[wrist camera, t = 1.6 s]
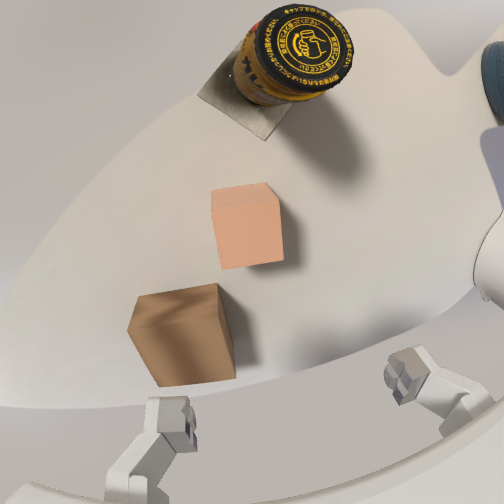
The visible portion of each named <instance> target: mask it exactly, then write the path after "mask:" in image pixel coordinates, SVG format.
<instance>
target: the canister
mask: <svg viewBox="0 0 504 504" xmlns="http://www.w3.org/2000/svg"><path fill="white" fill-rule="evenodd" d="M482 77H483V83H484V87H485V91H486V94H487V97H488V100H489V102H490V105H491V107H492V109H493V111H494V112H495V114H496V115H497V117H498V118H499V119H500V120H501V121H502V122H504V41H501V42H494V43H492V44H489V45H487V46H486V48H485V49H484V52H483V55H482Z"/></svg>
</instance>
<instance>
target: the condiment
mask: <svg viewBox="0 0 504 504" xmlns="http://www.w3.org/2000/svg"><path fill="white" fill-rule="evenodd" d="M353 54H354V47H353V43H352V40H351V38H350V36H349V34H348V32H347V30H346V29H345V27H344V26H343V25H342V24H341V23H340V22H339V21H338V20H337V19H336V18H335V17H334V16H332V15H331V14H330V13H328V12H327V11H325V10H323V9H320V8H318V7H315V6H311V5H304V4H302V5H301V4H291V5H286V6H283V7H279V8H277V9H275V10H273V11H272V12H270V13H269V14H268V15H266V16H265V17H264V18H263V19H262V20H261V21H259V22H258V23H257V24H255V26H253V28H252V29H251V30H250V31H249V32H248V33H247V34H246V36H245V38H244V39H243V40H242V41H241V42H240V43H239V44H238V45H237V47H236V48H235V49H234V50H233V51H232V52H231V53H230V55H229V56H228V57H227V58H226V59H225V60H224V61H223V63H222V64H221V65H220V67H219V68H218V69H217V70H216V71H215V72H214V74H213V75H212V76H211V77H210V79H209V80H208V81H207V82H206V84H205V85H204V86H203V87H202V89H201V90H200V91H199V93H198V94H197V95H198V96H199V97H201V98H202V99H204V100H205V101H207V102H209V103H210V104H212V105H213V106H215V107H216V108H218V109H219V110H221V111H222V112H224V113H225V114H227V115H228V116H230V117H231V118H233V119H234V120H236V121H237V122H239V123H240V124H242V125H243V126H244V127H246V128H247V129H249V130H250V131H251V132H253V133H254V134H256V135H257V136H258V137H260V138H261V139H263V140H264V141H265V139H266V138H267V137H268V135H269V134H270V133H271V132H272V130H273V129H274V128H275V126H276V125H277V124H278V123H279V121H280V120H281V119H282V118H283V116H284V115H285V114H286V113H287V111H288V110H289V109H290V108H291V106H292V105H293V104H294V103H297V102H302V101H308V100H309V99H311V98H315V97H317V96H319V95H321V94H323V93H324V92H326V91H327V90H328V89H330V88H333V87H334V86H335V85H337V84H340V82H341V81H342V80H343V78H344V77H345V76H346V75H347V73H348V72H349V70H350V68H351V67H352V59H353ZM229 75H231V77H229ZM261 107H264V109H261ZM257 108H260V110H256V109H257Z"/></svg>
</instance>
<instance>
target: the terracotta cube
mask: <svg viewBox="0 0 504 504" xmlns="http://www.w3.org/2000/svg"><path fill="white" fill-rule="evenodd" d="M211 214H212V219H213V225H214V231H215V236H216V242H217V247H218V252H219V258H220V263H221V268H222V270H225V269H232V268H238V267H244V266H251V265H257V264H263V263H269V262H275V261H282V260H284V256H283V242H282V229H281V216H280V204H279V199H278V198H277V197H276V195H275V194H274V193H273V191H272V190H271V189H270V187H269V186H268V185H267V184H266V182H265V183H258V184H251V185H243V186H237V187H230V188H223V189H217V190H212V196H211Z"/></svg>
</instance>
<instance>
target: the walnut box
mask: <svg viewBox="0 0 504 504" xmlns="http://www.w3.org/2000/svg"><path fill="white" fill-rule="evenodd" d="M127 332H128V334H129V335H130V337H131V339H132V341H133V343H134V345H135V347H136V349H137V350H138V352H139V354H140V356H141V358H142V359H143V361H144V363H145V365H146V366H147V368H148V370H149V371H150V373H151V375H152V376H153V378H154V380H155V381H156V383H157V385H158V386H159V387H170V386H181V385H190V384H199V383H207V382H215V381H222V380H229V379H235V378H236V370H235V361H234V352H233V342H232V339H231V335H230V331H229V327H228V324H227V320H226V316H225V312H224V308H223V304H222V301H221V297H220V293H219V289H218V285H217V283H214V284H208V285H203V286H197V287H191V288H186V289H180V290H174V291H168V292H162V293H156V294H150V295H144V296H139V297H138V300H137V303H136V305H135V308H134V311H133V314H132V317H131V320H130V324H129V327H128V330H127Z"/></svg>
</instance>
